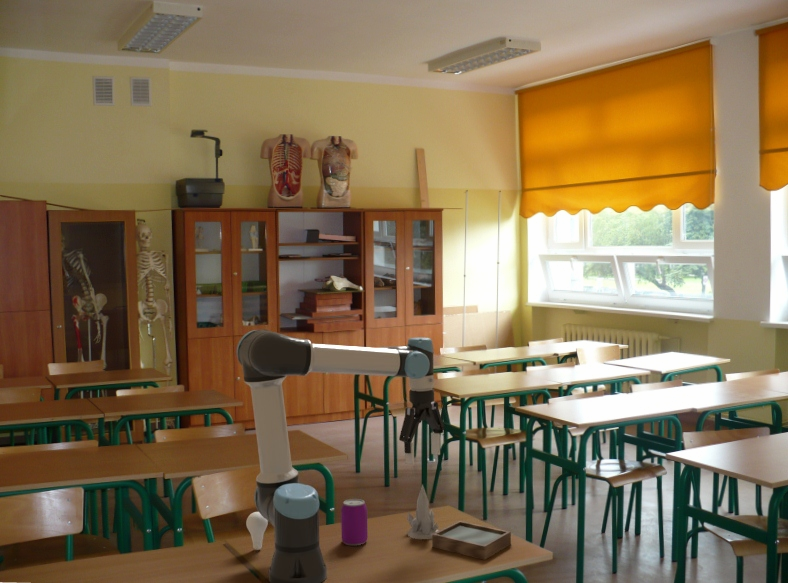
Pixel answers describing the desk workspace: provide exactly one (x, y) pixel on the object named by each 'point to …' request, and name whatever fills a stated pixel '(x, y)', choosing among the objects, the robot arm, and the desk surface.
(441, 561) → the desk surface
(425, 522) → the crystal
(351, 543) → the beverage can
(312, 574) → the robot arm
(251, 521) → the lightbulb
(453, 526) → the wooden tray
